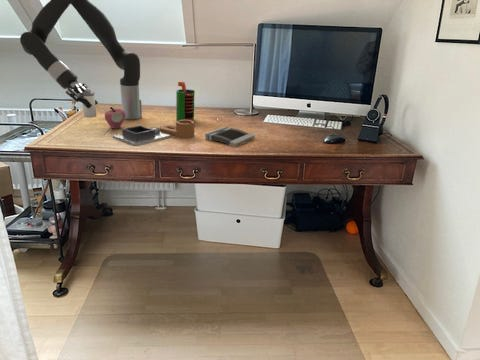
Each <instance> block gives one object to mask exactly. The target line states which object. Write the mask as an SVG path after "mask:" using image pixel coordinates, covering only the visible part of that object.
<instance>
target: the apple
mask: <svg viewBox="0 0 480 360" xmlns="http://www.w3.org/2000/svg"><path fill="white" fill-rule="evenodd" d="M109 109H110V110H108V111H107V110H106V111H105V112H104V119H105V121H106V123H107V124H108V125H109V127H110V128H111V129H119V128H121V127H122V125H123V123H124V122H125V120H126V119H125V116H126V114H125V111H123V110H122V108H121V109H119V108H118V109H117V108H116V109H114V108H113V106H110V107H109Z"/></svg>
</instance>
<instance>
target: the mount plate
mask: <svg viewBox="0 0 480 360" xmlns="http://www.w3.org/2000/svg"><path fill="white" fill-rule="evenodd" d="M112 138H113V139H116V140H118V141H121V142H123V143H126V144H128V145H131V146H134V147H135V146H140V145H144V144H149V143H153V142H157V141H158V142H159V141H162V140H167V139H170V138H172V135H170V134H167V133H164V132H161V131H160V127H158V126H151V127H147V126H144V125H135V126H130V127H125V128H122V129H121V133H118V134H113V135H112Z"/></svg>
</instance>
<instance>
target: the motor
mask: <svg viewBox="0 0 480 360" xmlns="http://www.w3.org/2000/svg"><path fill="white" fill-rule="evenodd" d="M177 86H178V87H181V88H180V89H177V90H176V91H175V92H176V94H175V95H176V97H175V98H176V104H175V105H176V106H175V107H176V113H175V114H176V120H175V122H176V121H178V120H192V121H194V120H195V89H187V85H186V83H185V82H184V81H178V82H177Z"/></svg>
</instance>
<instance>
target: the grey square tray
mask: <svg viewBox="0 0 480 360" xmlns="http://www.w3.org/2000/svg"><path fill="white" fill-rule="evenodd" d="M204 137H205V140H206V141H216V142H220V143H221V142H222V143H224V144H227V145H229V146H230V145H231V146H230V147H234V146H235V147H236V145H237V146H240V144H241V145H243V144H245V143H248V142H250V141H252V140H253V139H255V135H254V134H253V133H248V132H246V131H244V130H241V129H238V128H233V127H229V126H228V125H226V126H223V127H220V128H216V129H213V130H212V131H208V132H206V133H204ZM249 140H250V141H249ZM247 141H248V142H247ZM244 142H245V143H244ZM242 143H243V144H242Z"/></svg>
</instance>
